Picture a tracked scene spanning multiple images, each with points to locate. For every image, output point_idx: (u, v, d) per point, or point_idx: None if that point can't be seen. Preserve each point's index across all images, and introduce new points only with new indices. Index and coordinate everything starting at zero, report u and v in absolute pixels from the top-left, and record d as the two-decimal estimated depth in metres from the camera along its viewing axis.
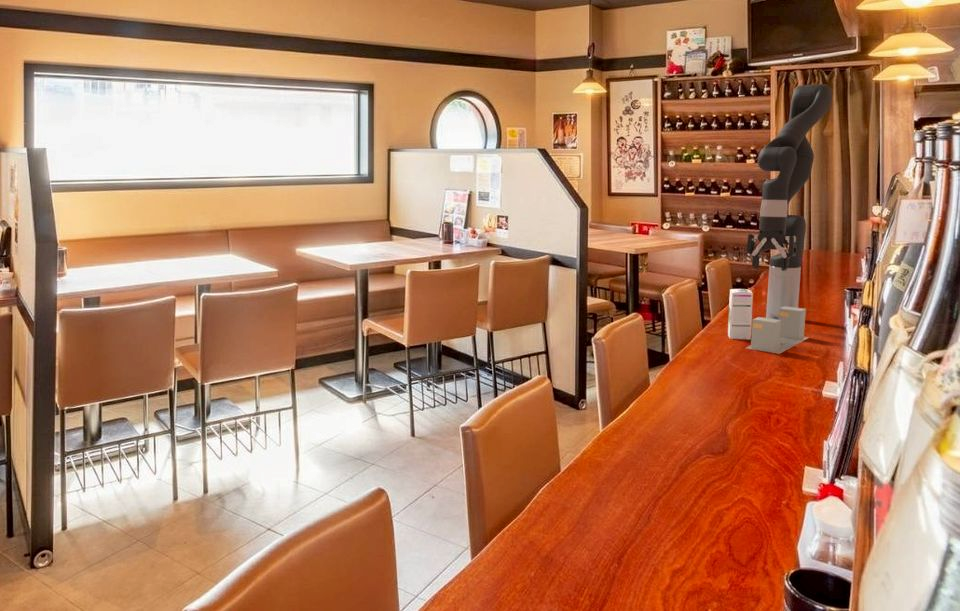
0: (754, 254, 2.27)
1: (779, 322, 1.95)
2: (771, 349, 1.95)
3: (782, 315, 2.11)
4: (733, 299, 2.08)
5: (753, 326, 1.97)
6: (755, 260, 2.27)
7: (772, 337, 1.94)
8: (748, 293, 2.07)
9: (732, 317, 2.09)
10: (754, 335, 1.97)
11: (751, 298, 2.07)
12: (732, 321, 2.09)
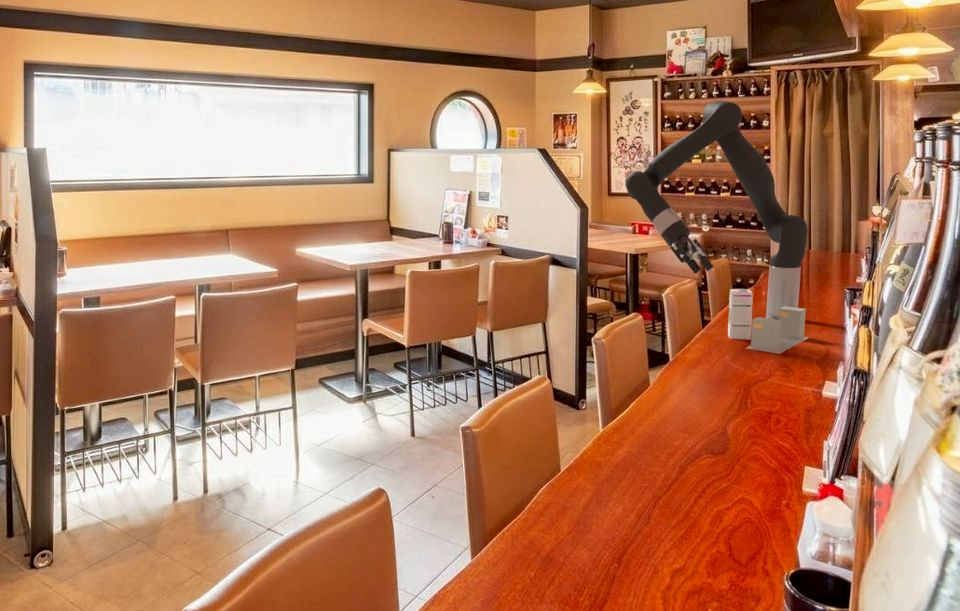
0: (699, 260, 2.21)
1: (779, 322, 1.95)
2: (771, 349, 1.95)
3: (782, 315, 2.11)
4: (733, 299, 2.08)
5: (753, 326, 1.97)
6: None
7: (772, 337, 1.94)
8: (748, 293, 2.07)
9: (732, 317, 2.09)
10: (754, 335, 1.97)
11: (751, 298, 2.07)
12: (732, 321, 2.09)
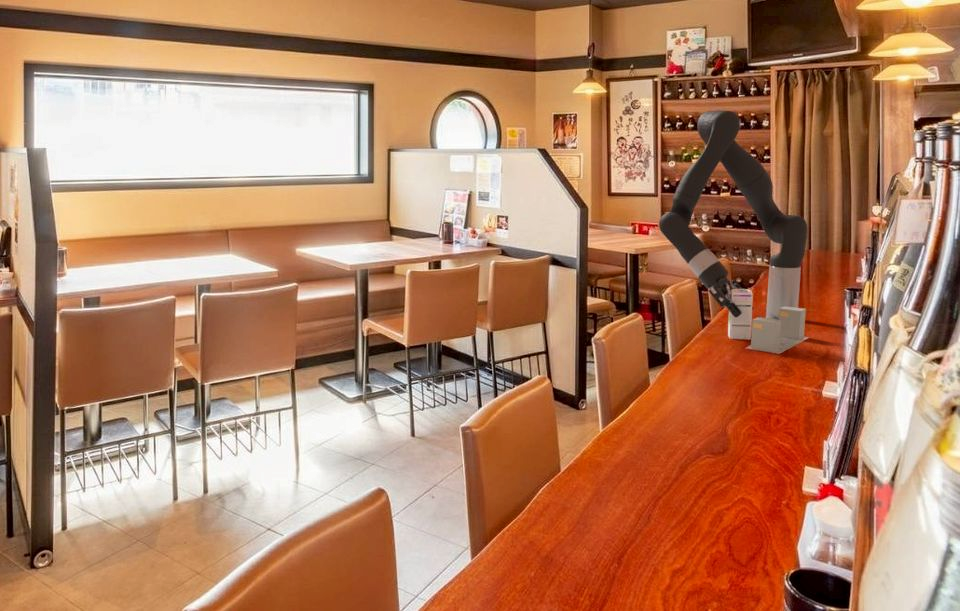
0: None
1: (779, 322, 1.95)
2: (771, 349, 1.95)
3: (782, 315, 2.11)
4: (733, 299, 2.08)
5: (753, 326, 1.97)
6: None
7: (772, 337, 1.94)
8: (748, 293, 2.07)
9: (732, 317, 2.09)
10: (754, 335, 1.97)
11: (751, 298, 2.07)
12: (732, 321, 2.09)
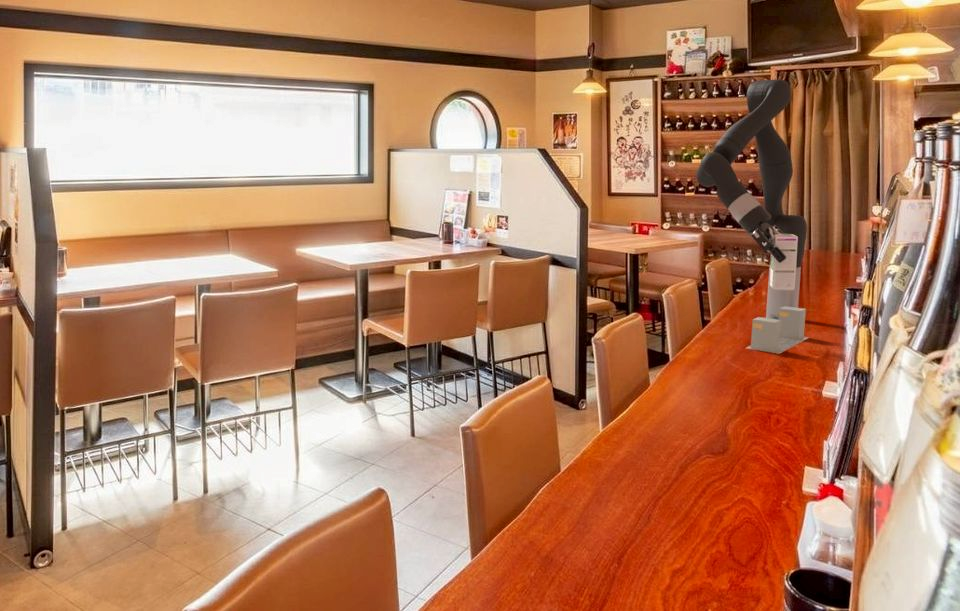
0: None
1: (779, 322, 1.95)
2: (771, 349, 1.95)
3: (782, 315, 2.11)
4: (776, 243, 1.98)
5: (753, 326, 1.97)
6: None
7: (772, 337, 1.94)
8: (793, 237, 1.97)
9: (775, 262, 1.99)
10: (754, 335, 1.97)
11: (796, 242, 1.97)
12: (775, 267, 1.99)
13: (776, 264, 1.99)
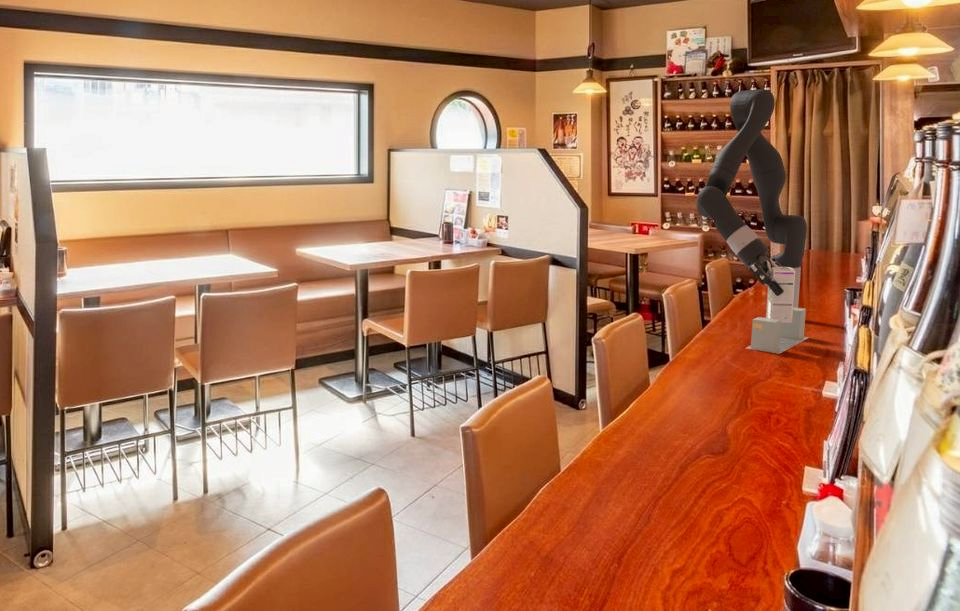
0: None
1: (779, 322, 1.95)
2: (771, 349, 1.95)
3: None
4: (774, 276, 1.99)
5: (753, 326, 1.97)
6: None
7: (772, 337, 1.94)
8: (790, 270, 1.98)
9: (773, 296, 2.00)
10: (754, 335, 1.97)
11: (793, 276, 1.99)
12: (773, 300, 2.01)
13: (774, 297, 2.01)
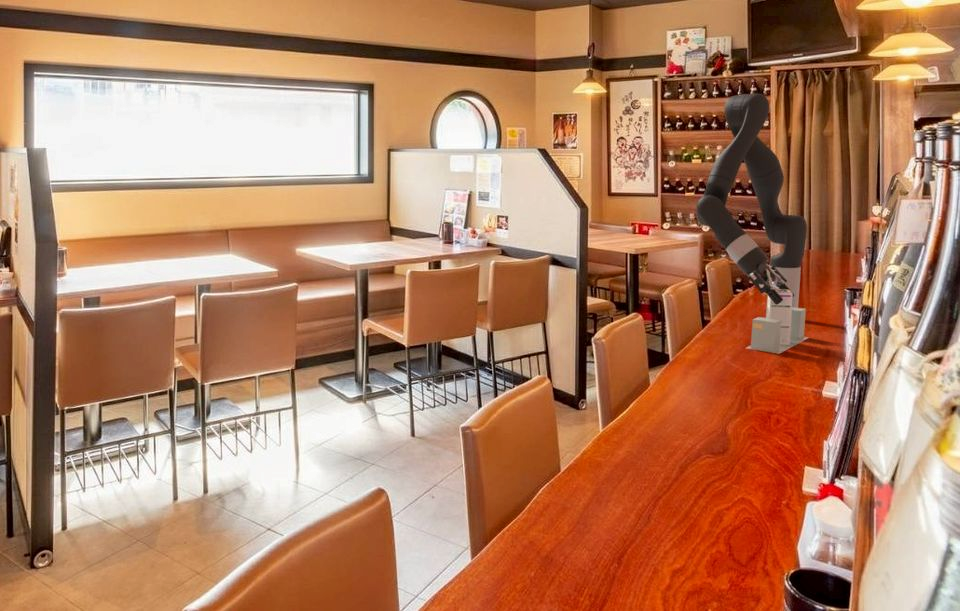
0: None
1: (779, 322, 1.95)
2: (771, 349, 1.95)
3: None
4: (771, 299, 2.01)
5: (753, 326, 1.97)
6: None
7: (772, 337, 1.94)
8: (788, 293, 2.00)
9: (770, 318, 2.02)
10: (754, 335, 1.97)
11: (791, 298, 2.00)
12: None
13: None
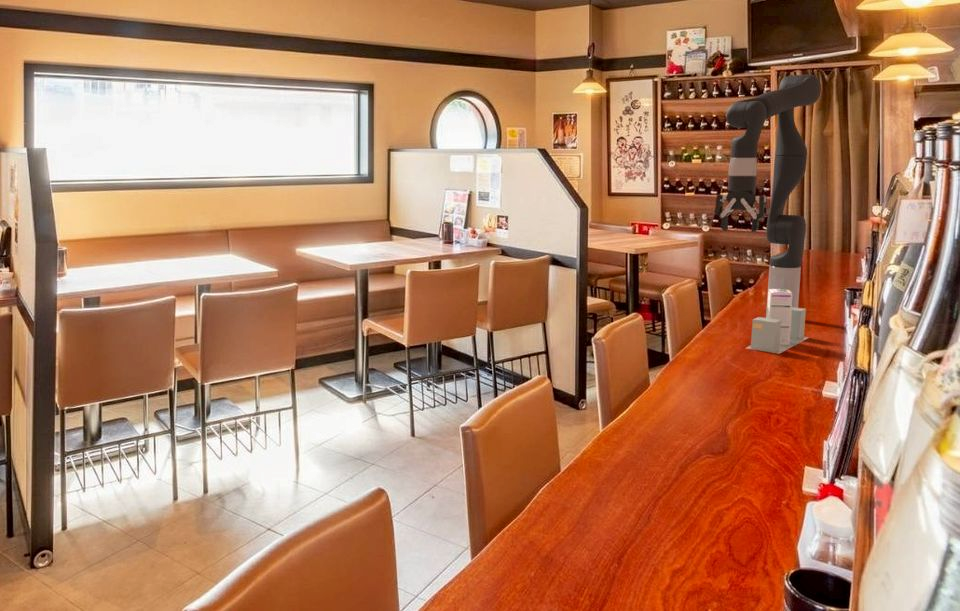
0: (723, 215, 2.17)
1: (779, 322, 1.95)
2: (771, 349, 1.95)
3: None
4: (771, 299, 2.01)
5: (753, 326, 1.97)
6: (724, 222, 2.17)
7: (772, 337, 1.94)
8: (787, 293, 1.99)
9: (770, 318, 2.02)
10: (754, 335, 1.97)
11: (791, 298, 2.00)
12: None
13: None
